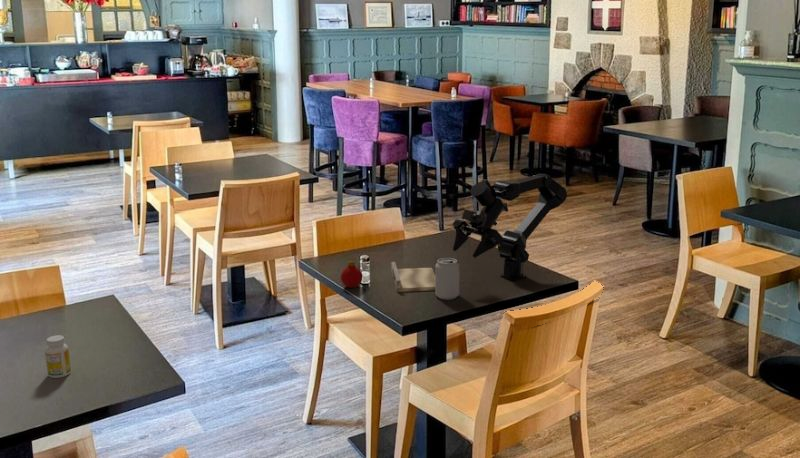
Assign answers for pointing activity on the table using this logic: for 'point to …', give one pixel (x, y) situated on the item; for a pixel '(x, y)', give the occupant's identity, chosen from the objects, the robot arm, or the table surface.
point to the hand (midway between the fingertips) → (463, 253)
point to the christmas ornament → (351, 275)
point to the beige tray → (413, 279)
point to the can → (447, 278)
